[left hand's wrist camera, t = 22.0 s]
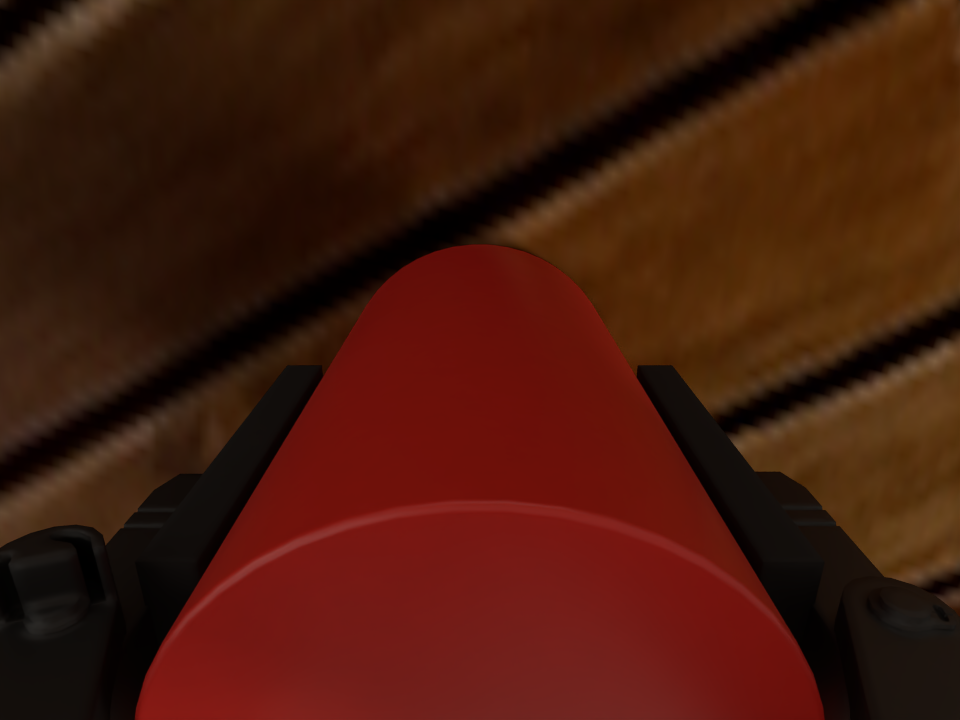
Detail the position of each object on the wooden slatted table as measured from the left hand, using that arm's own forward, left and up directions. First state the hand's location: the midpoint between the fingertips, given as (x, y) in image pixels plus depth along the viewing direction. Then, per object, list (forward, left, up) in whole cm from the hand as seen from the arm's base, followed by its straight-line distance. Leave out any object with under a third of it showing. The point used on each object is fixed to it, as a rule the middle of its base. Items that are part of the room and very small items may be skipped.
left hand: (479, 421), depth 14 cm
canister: (0, 0, -3) cm, 3 cm away
